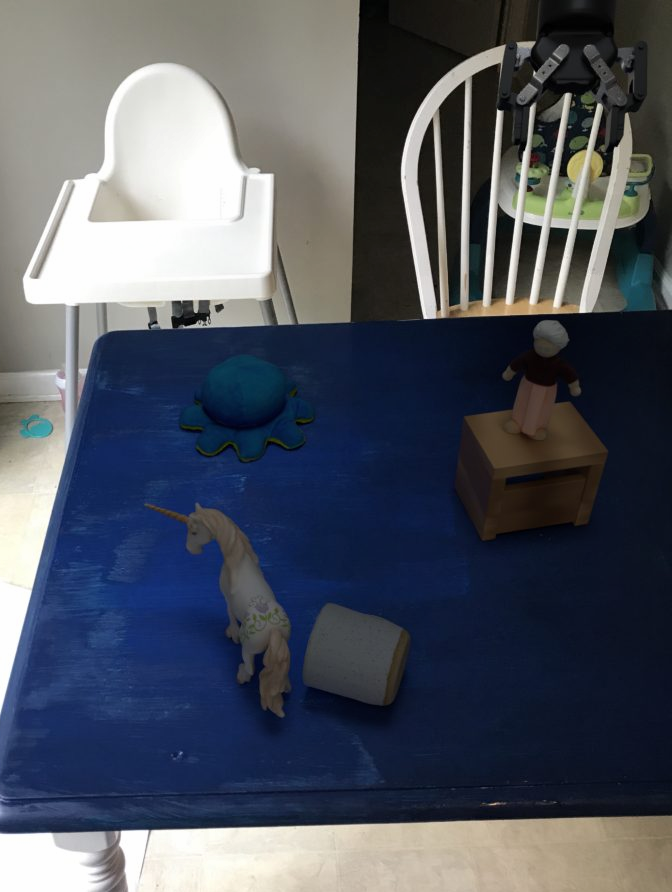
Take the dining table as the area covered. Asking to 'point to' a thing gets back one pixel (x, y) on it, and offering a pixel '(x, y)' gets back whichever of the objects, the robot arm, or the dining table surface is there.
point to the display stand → (528, 472)
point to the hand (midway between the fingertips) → (565, 148)
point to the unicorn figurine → (245, 602)
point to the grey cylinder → (356, 655)
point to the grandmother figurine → (540, 381)
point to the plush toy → (246, 409)
